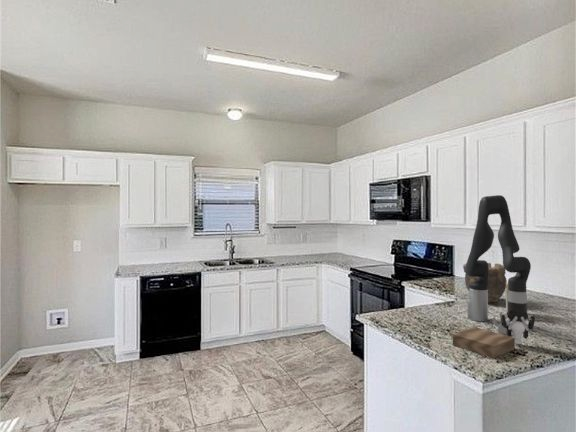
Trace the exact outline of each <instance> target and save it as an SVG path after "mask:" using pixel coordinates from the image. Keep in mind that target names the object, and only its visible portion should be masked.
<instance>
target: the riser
mask: <svg viewBox="0 0 576 432" xmlns="http://www.w3.org/2000/svg"><path fill="white" fill-rule="evenodd" d="M452 346H454V347H457V348H461V349H464V350H466V351H469V352H473V353H476V354H478V355H482V356H484V357H488V358H491V359H496V358H498V357H500V356H503V355H504V354H507V353H509V352H511V351H513V350H515V349H516V343H515V338H514V337H513V336H512V337H511V336H507V335H506V334H499V333H498V332H495V331H491V330H488V329H484V328H480V327H475V326H472V327H469V328H466V329H463V330H461V331H458V332H455V333H452Z"/></svg>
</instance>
